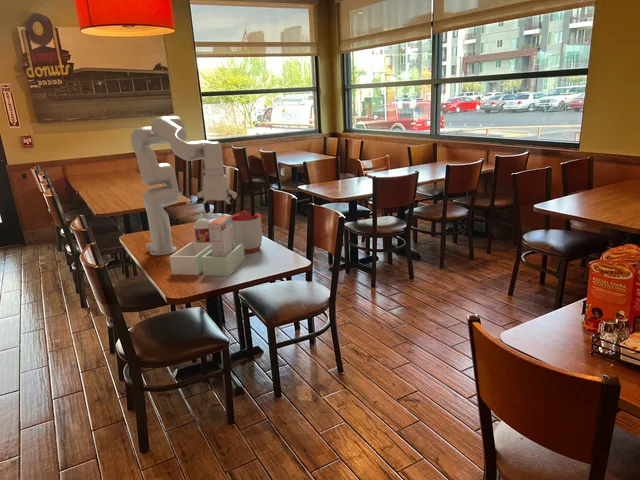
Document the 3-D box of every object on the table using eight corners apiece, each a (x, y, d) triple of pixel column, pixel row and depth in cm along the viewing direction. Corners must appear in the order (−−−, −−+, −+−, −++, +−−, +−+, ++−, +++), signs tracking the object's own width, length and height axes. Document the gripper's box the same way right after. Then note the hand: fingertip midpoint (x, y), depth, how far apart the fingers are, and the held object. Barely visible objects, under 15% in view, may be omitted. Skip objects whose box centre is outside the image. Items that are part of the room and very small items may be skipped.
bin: (203, 275, 196) (201, 257, 194) (222, 259, 215) (220, 242, 212) (228, 275, 194) (226, 257, 191) (244, 259, 213) (243, 243, 210)
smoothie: (218, 251, 226) (214, 211, 220) (207, 256, 219) (202, 215, 213) (204, 249, 230) (199, 210, 224) (193, 255, 223) (188, 214, 217)
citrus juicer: (270, 244, 233) (267, 205, 227) (256, 256, 217) (252, 214, 211) (241, 243, 237) (237, 205, 232) (225, 254, 221) (221, 213, 216)
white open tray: (172, 274, 199) (169, 256, 196) (193, 258, 218) (190, 242, 215) (198, 275, 196) (195, 257, 194) (217, 259, 215) (215, 242, 213)
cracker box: (223, 260, 210) (218, 215, 204) (236, 260, 210) (232, 214, 204) (213, 271, 197) (207, 223, 191) (227, 271, 196) (221, 223, 190)
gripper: (191, 173, 190) (195, 214, 195) (231, 173, 187) (234, 215, 192) (199, 170, 197) (203, 210, 202) (237, 170, 194) (241, 210, 199)
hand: (218, 212), depth 197 cm, fingers open, 9 cm apart
